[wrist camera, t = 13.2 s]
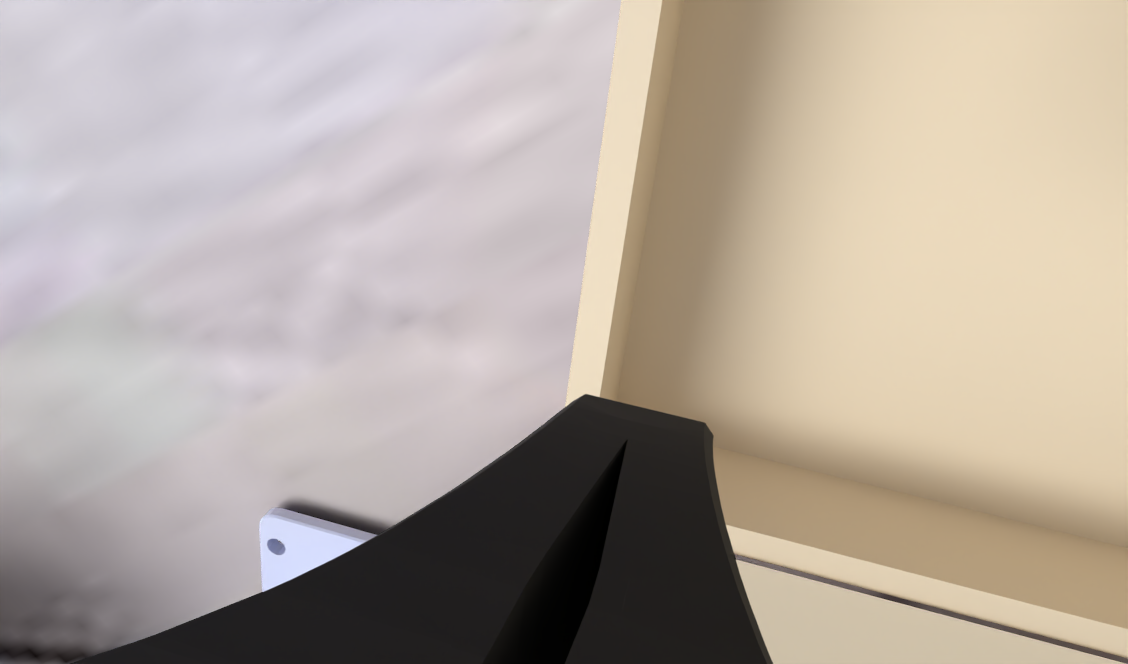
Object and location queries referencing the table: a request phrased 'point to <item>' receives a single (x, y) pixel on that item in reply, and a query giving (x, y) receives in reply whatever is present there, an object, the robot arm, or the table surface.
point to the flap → (878, 629)
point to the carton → (882, 288)
